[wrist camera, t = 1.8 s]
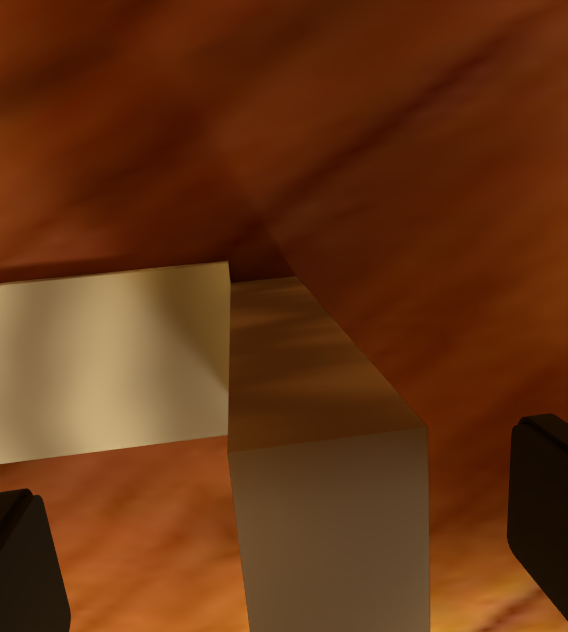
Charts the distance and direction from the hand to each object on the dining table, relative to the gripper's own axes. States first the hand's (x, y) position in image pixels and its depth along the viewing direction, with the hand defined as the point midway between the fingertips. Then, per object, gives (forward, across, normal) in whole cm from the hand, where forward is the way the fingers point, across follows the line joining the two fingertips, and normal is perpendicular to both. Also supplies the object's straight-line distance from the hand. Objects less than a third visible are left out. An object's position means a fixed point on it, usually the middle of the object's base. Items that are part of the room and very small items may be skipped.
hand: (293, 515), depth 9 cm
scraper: (+13, +8, +1) cm, 15 cm away
